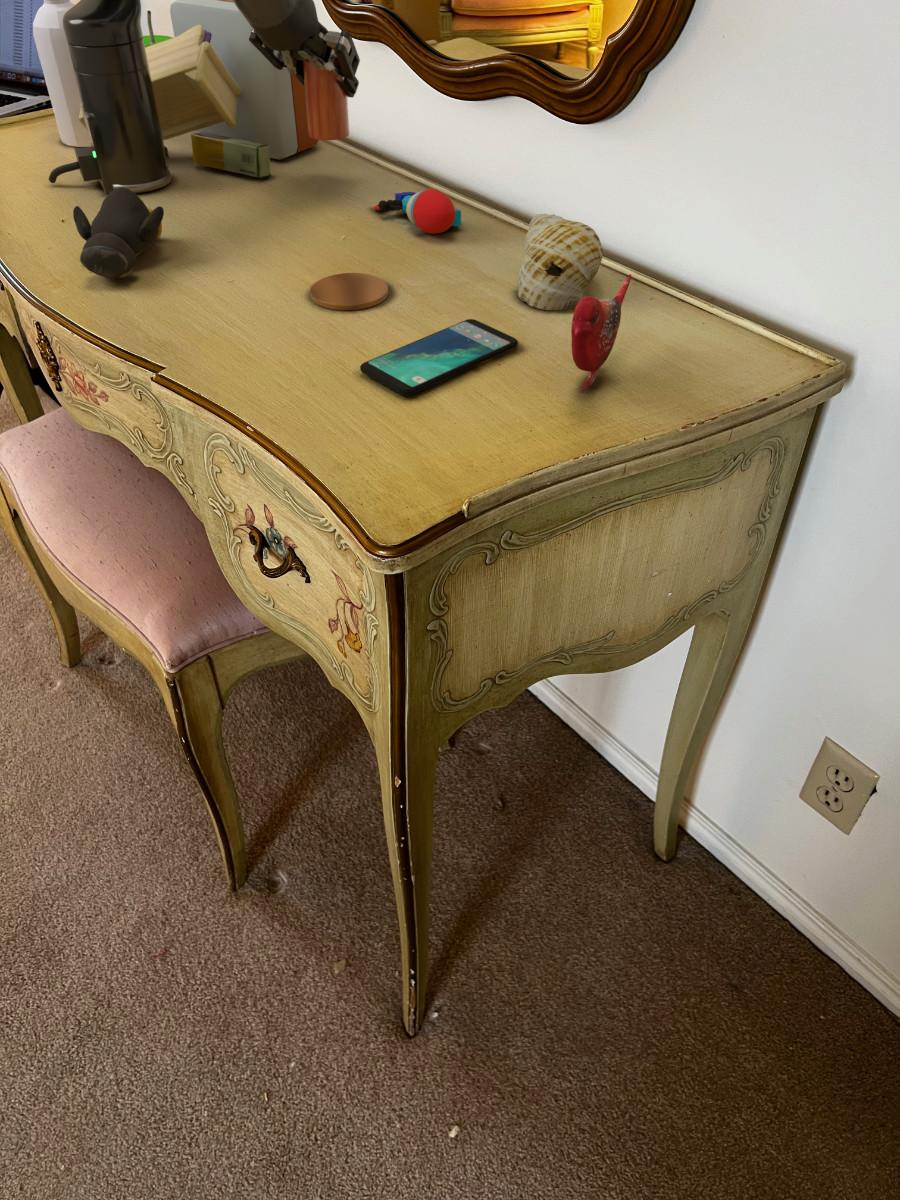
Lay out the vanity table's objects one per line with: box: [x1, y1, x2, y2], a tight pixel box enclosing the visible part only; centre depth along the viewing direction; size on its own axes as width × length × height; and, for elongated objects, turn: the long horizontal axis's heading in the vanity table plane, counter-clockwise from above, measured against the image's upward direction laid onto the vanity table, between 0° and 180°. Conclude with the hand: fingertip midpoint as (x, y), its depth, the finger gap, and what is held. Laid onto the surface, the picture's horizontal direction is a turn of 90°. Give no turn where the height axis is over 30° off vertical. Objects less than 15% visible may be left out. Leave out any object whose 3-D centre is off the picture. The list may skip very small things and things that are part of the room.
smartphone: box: [359, 318, 519, 397], centre depth 89 cm, size 7×1×15 cm
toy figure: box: [373, 188, 462, 235], centre depth 114 cm, size 8×5×15 cm
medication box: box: [190, 132, 272, 179], centre depth 129 cm, size 12×3×4 cm, turn 62°
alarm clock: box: [169, 0, 319, 160], centre depth 133 cm, size 18×9×21 cm, turn 58°
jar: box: [302, 60, 350, 141], centre depth 119 cm, size 5×5×11 cm
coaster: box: [310, 272, 389, 311], centre depth 100 cm, size 8×8×1 cm
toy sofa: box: [79, 25, 241, 141], centre depth 129 cm, size 21×9×10 cm
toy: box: [72, 187, 165, 279], centre depth 104 cm, size 10×7×15 cm
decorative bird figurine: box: [570, 274, 632, 394], centre depth 84 cm, size 3×18×10 cm, turn 156°
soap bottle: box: [32, 0, 91, 148], centre depth 134 cm, size 9×9×24 cm
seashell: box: [517, 213, 604, 311], centre depth 99 cm, size 10×10×10 cm
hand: (333, 87), depth 121 cm, fingers closed on jar, 5 cm apart
